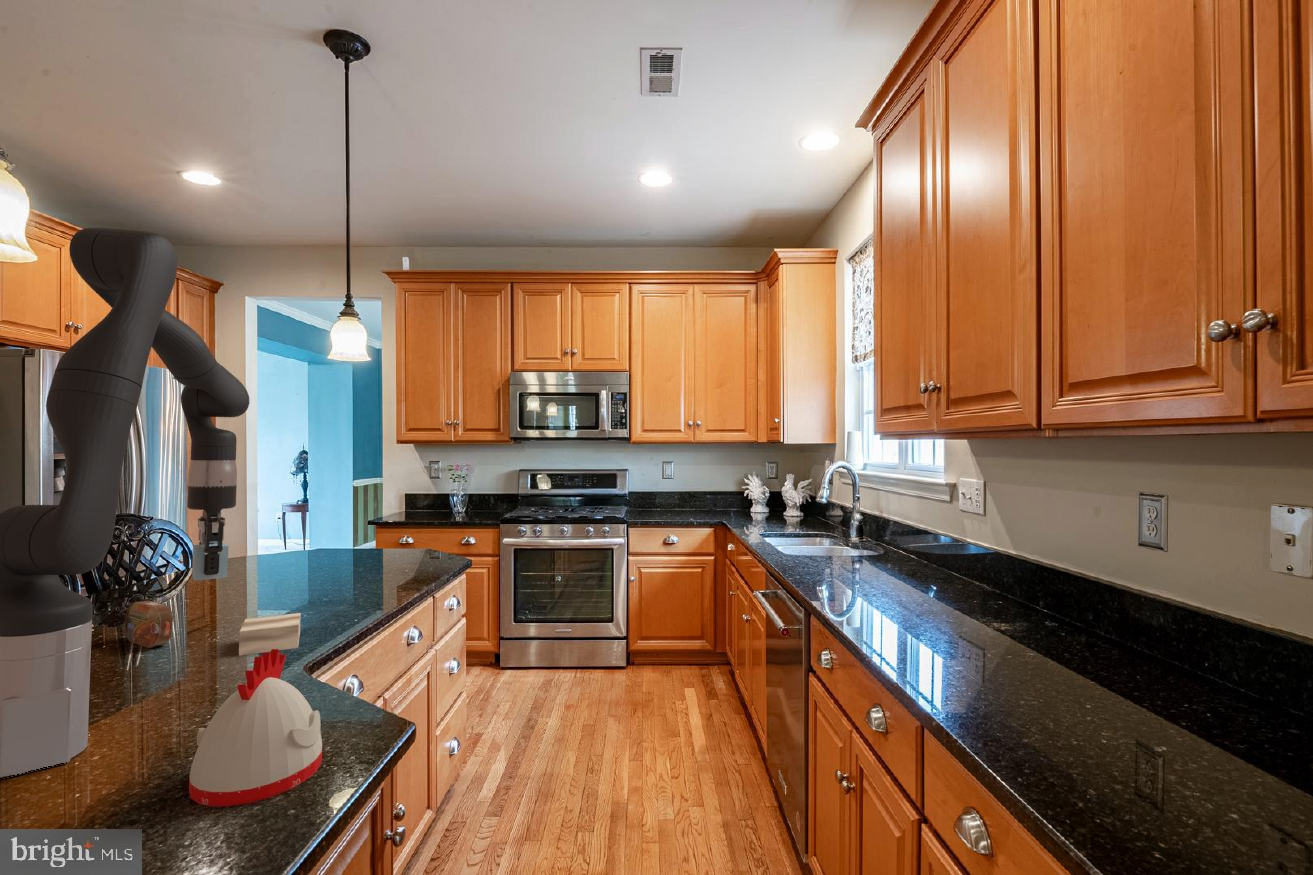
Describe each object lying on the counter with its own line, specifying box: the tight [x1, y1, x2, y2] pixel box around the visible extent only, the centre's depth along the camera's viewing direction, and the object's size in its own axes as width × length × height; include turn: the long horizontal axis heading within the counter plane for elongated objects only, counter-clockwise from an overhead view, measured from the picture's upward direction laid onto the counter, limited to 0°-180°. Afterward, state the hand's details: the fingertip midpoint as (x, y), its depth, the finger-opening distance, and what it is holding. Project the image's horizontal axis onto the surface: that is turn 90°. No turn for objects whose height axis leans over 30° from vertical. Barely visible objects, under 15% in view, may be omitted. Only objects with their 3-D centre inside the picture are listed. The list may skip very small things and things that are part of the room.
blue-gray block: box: [191, 542, 229, 582], centre depth 112 cm, size 5×5×6 cm
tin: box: [124, 600, 174, 649], centre depth 122 cm, size 15×3×8 cm, turn 62°
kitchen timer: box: [188, 649, 323, 807], centre depth 74 cm, size 14×14×15 cm
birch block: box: [238, 612, 302, 657], centre depth 122 cm, size 10×10×5 cm
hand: (209, 571), depth 112 cm, fingers closed on blue-gray block, 5 cm apart
